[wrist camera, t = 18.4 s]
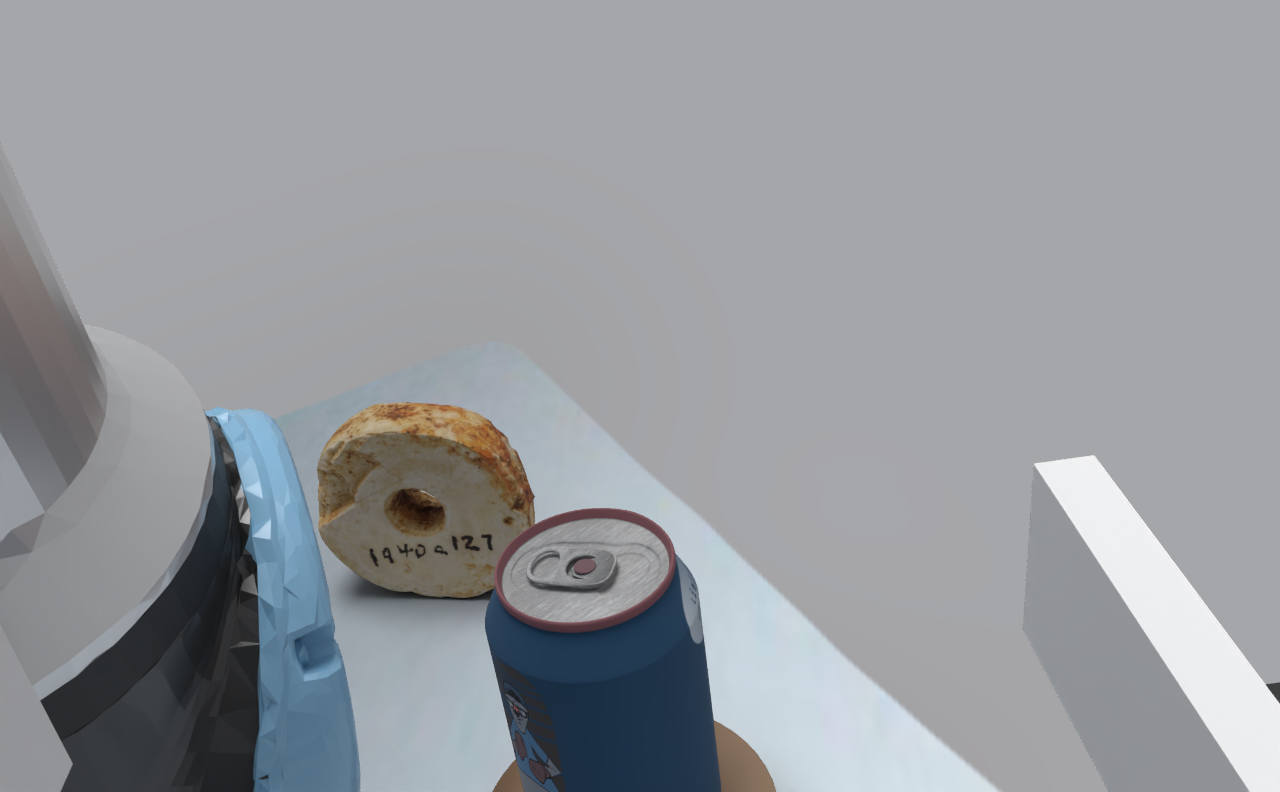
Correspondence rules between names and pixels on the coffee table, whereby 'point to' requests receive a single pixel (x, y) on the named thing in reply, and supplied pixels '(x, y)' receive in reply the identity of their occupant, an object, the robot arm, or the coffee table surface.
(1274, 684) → the robot arm
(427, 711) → the coffee table surface
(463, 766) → the coffee table surface
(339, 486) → the stone disc
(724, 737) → the coaster
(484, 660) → the coffee table surface
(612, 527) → the soda can
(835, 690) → the coffee table surface
